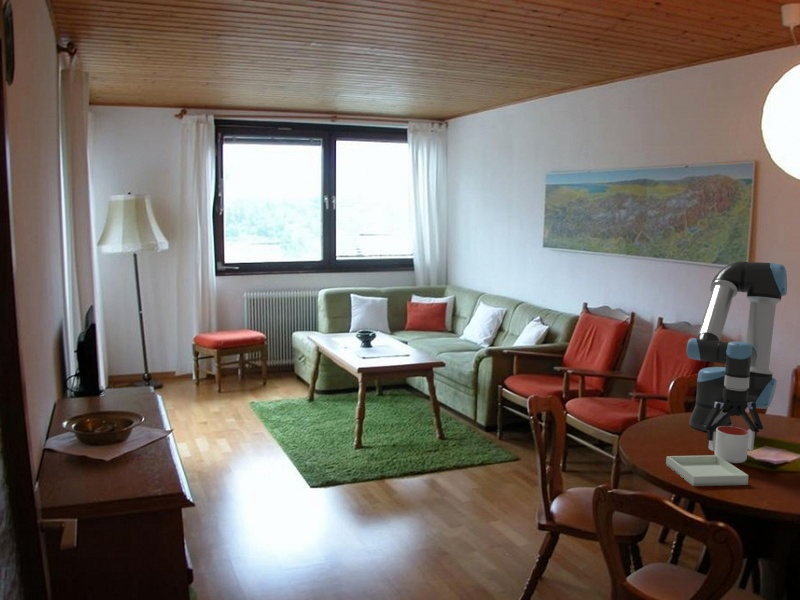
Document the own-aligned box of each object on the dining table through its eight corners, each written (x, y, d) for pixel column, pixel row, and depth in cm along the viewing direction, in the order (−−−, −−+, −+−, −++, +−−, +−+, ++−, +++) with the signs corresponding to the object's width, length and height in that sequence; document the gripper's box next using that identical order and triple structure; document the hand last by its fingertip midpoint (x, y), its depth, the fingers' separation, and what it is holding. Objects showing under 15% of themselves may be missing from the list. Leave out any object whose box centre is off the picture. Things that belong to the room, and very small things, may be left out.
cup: (744, 466, 234) (747, 437, 233) (711, 460, 239) (714, 431, 238) (748, 457, 243) (750, 429, 241) (716, 451, 248) (718, 424, 246)
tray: (716, 463, 236) (717, 455, 236) (747, 484, 219) (748, 475, 218) (665, 465, 234) (666, 456, 234) (693, 486, 217) (693, 476, 216)
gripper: (764, 385, 243) (758, 445, 245) (694, 385, 240) (689, 446, 243) (778, 390, 235) (772, 452, 238) (706, 390, 233) (701, 453, 235)
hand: (730, 449), depth 240 cm, fingers open, 13 cm apart
